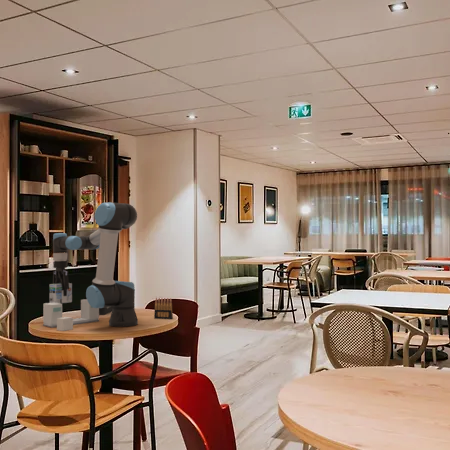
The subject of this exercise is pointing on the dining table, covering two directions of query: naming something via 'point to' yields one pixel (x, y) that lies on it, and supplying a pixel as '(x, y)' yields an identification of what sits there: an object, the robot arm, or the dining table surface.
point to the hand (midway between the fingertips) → (60, 301)
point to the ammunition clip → (163, 309)
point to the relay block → (64, 323)
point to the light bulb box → (59, 293)
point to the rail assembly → (87, 315)
